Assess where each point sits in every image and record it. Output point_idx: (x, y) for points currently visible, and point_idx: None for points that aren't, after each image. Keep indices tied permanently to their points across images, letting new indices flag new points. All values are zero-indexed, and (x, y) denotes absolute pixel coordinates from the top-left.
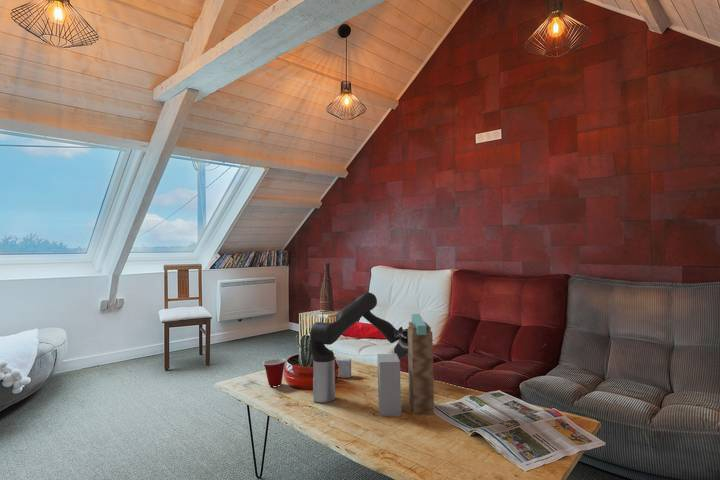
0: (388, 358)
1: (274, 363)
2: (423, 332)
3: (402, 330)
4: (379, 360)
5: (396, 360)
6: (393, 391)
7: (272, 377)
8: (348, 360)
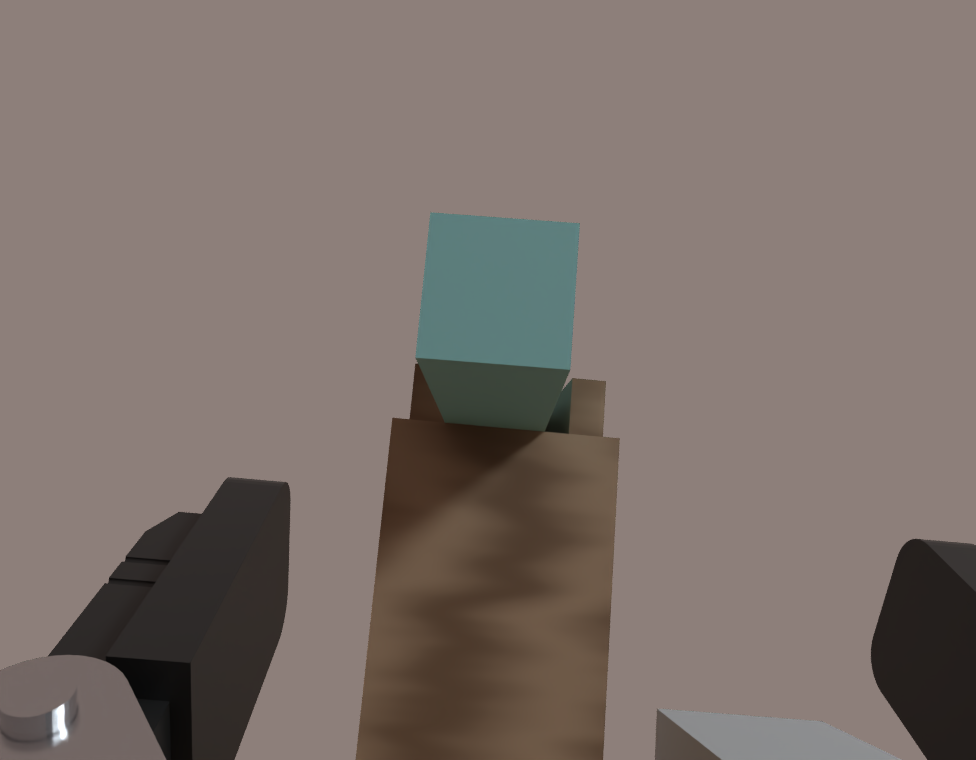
0: (783, 740)
1: None
2: None
3: (874, 659)
4: (844, 734)
5: (692, 718)
6: None
7: None
8: None
